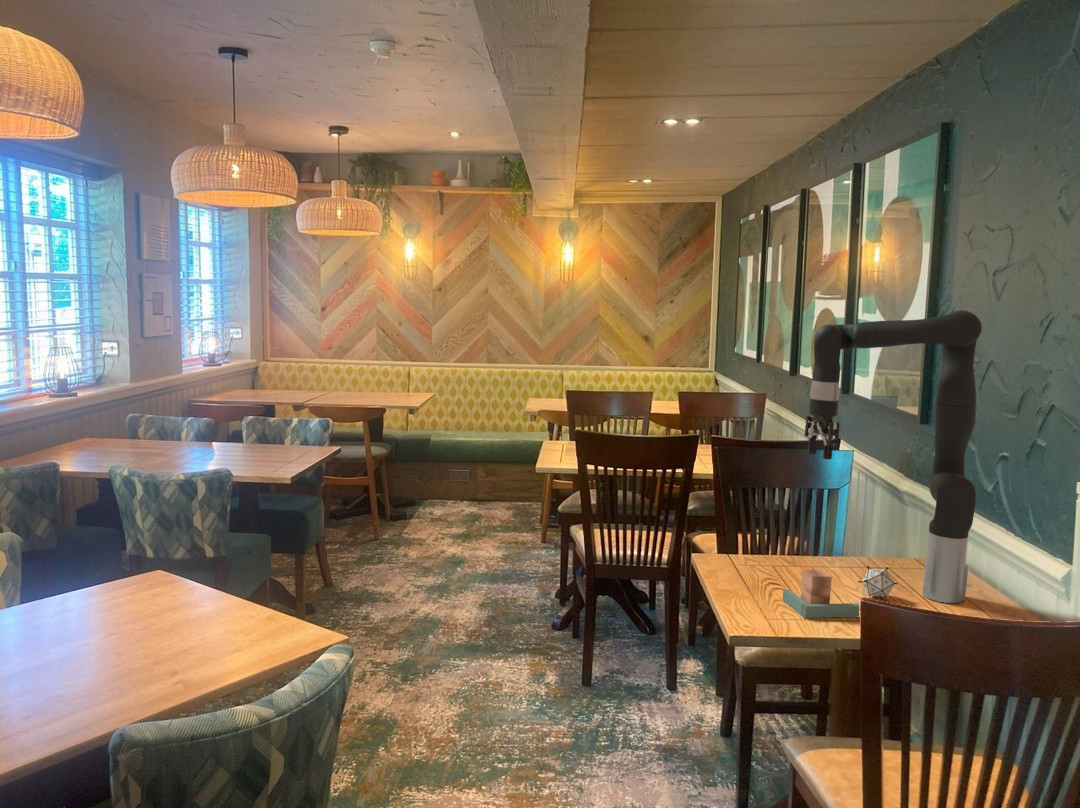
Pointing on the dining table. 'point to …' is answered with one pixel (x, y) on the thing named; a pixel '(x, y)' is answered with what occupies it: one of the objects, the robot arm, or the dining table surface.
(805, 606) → the wall
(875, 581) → the game die
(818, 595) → the terracotta block
